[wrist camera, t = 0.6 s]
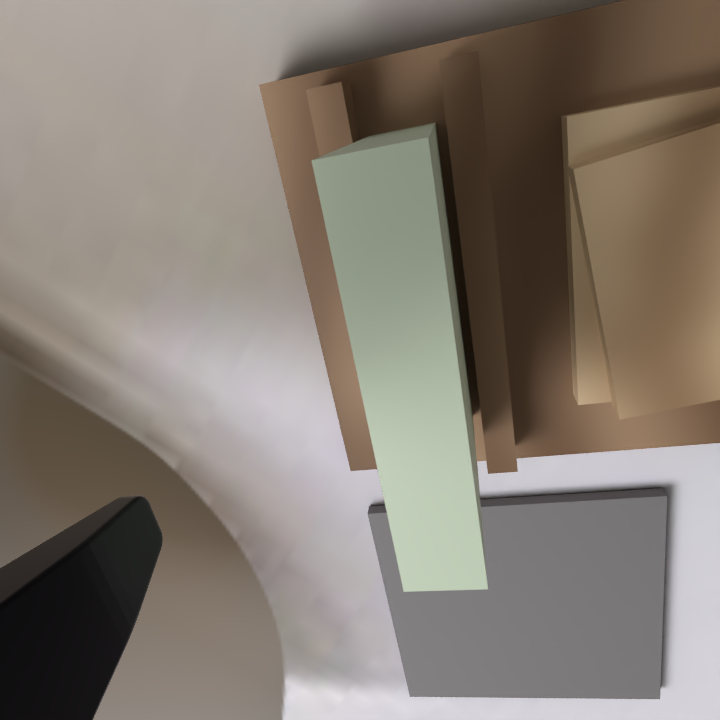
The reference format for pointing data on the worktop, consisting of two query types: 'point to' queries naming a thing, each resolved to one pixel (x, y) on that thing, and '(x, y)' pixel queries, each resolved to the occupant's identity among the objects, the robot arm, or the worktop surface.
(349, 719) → the worktop surface
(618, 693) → the rubber mat
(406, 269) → the green board
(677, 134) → the offcut stack
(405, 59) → the walnut rack
